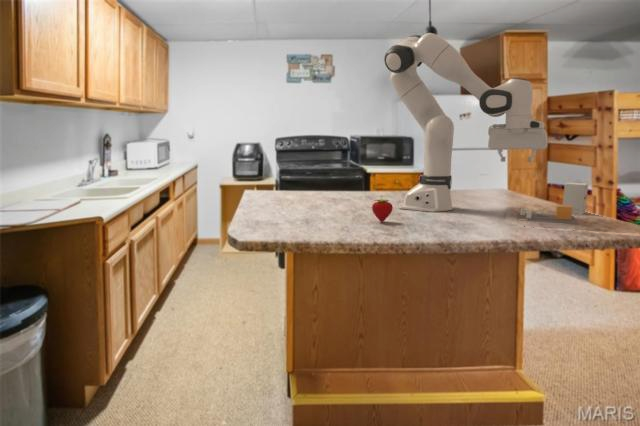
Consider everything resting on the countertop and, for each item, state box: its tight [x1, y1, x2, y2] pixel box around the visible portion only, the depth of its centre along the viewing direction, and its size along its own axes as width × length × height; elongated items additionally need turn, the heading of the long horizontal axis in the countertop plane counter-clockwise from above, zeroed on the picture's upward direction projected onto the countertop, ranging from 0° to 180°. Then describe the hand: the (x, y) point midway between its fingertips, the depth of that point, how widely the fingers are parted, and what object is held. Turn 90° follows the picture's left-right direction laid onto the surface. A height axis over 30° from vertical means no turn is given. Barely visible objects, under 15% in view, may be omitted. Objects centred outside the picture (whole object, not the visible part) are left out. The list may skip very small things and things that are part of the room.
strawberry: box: [371, 195, 393, 223], centre depth 178 cm, size 6×8×10 cm
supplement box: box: [562, 182, 589, 216], centre depth 193 cm, size 7×7×13 cm
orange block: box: [554, 204, 573, 219], centre depth 182 cm, size 5×5×4 cm
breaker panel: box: [516, 210, 579, 225], centre depth 182 cm, size 20×16×2 cm
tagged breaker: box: [526, 207, 533, 219], centre depth 181 cm, size 2×2×4 cm
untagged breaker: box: [519, 205, 527, 216], centre depth 187 cm, size 2×2×4 cm
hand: (516, 161), depth 181 cm, fingers open, 8 cm apart
